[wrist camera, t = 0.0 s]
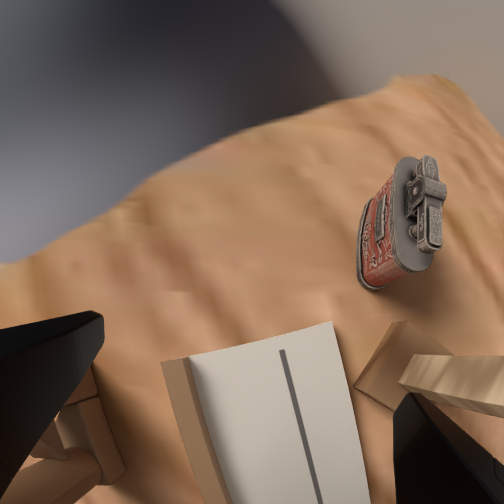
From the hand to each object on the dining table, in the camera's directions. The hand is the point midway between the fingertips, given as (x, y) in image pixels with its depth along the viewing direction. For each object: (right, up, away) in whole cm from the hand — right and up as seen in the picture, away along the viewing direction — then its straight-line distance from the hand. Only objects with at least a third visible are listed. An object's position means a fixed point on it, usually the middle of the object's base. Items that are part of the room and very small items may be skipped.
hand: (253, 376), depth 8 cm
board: (+3, -15, +11) cm, 19 cm away
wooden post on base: (+12, -7, +14) cm, 19 cm away
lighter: (+10, +4, +17) cm, 20 cm away
